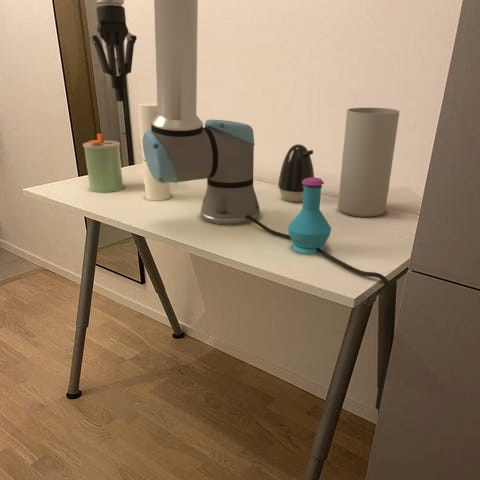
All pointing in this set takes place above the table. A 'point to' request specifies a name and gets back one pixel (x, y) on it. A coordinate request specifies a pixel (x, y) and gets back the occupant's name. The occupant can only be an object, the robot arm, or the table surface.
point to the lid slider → (100, 139)
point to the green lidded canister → (104, 166)
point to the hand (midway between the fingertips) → (120, 100)
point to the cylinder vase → (367, 160)
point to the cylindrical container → (152, 186)
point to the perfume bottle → (310, 220)
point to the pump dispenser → (295, 173)
